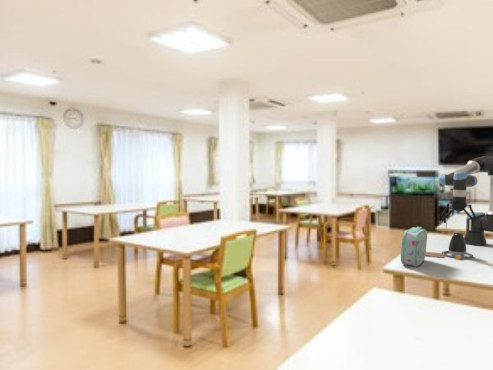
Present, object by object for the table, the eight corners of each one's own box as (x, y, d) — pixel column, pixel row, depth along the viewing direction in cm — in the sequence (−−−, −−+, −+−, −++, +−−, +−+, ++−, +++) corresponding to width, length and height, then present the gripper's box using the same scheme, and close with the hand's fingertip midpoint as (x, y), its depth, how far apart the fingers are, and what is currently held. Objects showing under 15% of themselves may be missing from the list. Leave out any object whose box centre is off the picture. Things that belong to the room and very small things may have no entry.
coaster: (424, 252, 262) (424, 251, 262) (443, 254, 258) (443, 253, 258) (424, 256, 252) (424, 255, 252) (443, 258, 248) (443, 257, 248)
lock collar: (441, 250, 267) (441, 247, 267) (471, 253, 260) (471, 250, 260) (442, 258, 248) (442, 254, 247) (474, 261, 240) (474, 257, 240)
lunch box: (409, 257, 250) (410, 223, 248) (427, 259, 244) (428, 225, 242) (398, 266, 228) (399, 229, 227) (417, 269, 222) (418, 231, 221)
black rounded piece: (461, 254, 258) (462, 231, 257) (469, 258, 248) (470, 234, 247) (445, 253, 259) (446, 230, 258) (452, 257, 249) (453, 233, 248)
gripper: (437, 195, 253) (436, 228, 254) (482, 197, 243) (481, 231, 244) (437, 195, 260) (436, 226, 261) (481, 196, 249) (479, 229, 251)
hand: (457, 229), depth 252 cm, fingers open, 13 cm apart
